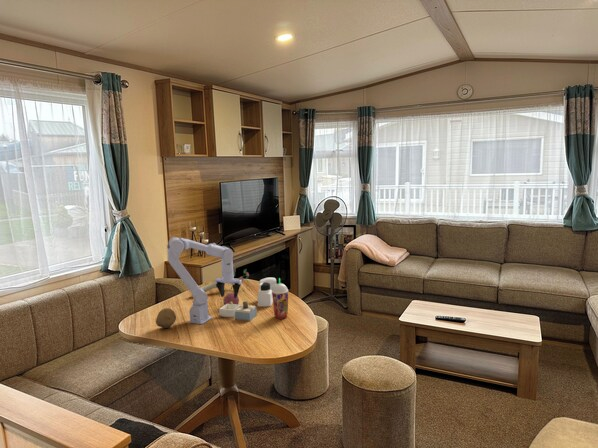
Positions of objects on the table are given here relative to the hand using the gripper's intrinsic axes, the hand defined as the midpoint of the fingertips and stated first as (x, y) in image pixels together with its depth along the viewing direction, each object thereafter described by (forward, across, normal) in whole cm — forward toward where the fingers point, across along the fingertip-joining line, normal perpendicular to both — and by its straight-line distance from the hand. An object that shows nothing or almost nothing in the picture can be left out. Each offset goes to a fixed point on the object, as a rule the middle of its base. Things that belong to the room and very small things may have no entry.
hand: (229, 296), depth 209 cm
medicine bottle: (+10, -12, -18) cm, 24 cm away
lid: (+5, -10, +2) cm, 12 cm away
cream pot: (+9, 0, 0) cm, 9 cm away
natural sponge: (+10, +21, +24) cm, 33 cm away
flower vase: (+10, +23, -32) cm, 41 cm away
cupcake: (+6, +8, -12) cm, 16 cm away
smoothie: (+10, -27, -3) cm, 29 cm away
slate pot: (+9, -10, +2) cm, 14 cm away
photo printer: (+10, -10, -27) cm, 30 cm away
